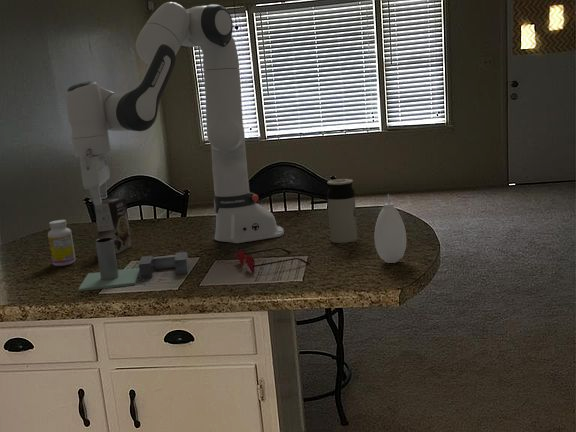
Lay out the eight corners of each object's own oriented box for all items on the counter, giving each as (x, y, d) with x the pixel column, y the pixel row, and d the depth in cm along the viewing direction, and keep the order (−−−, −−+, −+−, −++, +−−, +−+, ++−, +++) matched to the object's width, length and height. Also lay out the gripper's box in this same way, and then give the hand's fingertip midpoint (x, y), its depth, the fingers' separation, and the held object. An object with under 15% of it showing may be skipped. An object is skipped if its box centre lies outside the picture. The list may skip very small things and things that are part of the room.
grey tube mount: (188, 263, 171) (186, 249, 170) (187, 273, 162) (186, 259, 161) (144, 268, 170) (142, 254, 169) (140, 279, 160) (138, 264, 159)
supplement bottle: (56, 261, 186) (49, 220, 183) (78, 259, 186) (72, 218, 184) (49, 267, 179) (42, 224, 177) (72, 265, 180) (66, 222, 177)
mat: (140, 269, 169) (140, 267, 169) (135, 284, 156) (135, 282, 156) (88, 275, 168) (88, 273, 167) (78, 291, 154) (78, 289, 154)
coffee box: (119, 253, 189) (112, 202, 186) (100, 254, 191) (93, 203, 187) (132, 246, 198) (126, 196, 195) (114, 246, 199) (107, 197, 196)
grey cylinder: (122, 275, 163) (116, 237, 161) (111, 280, 159) (106, 242, 157) (107, 274, 165) (102, 237, 162) (97, 280, 160) (91, 241, 158)
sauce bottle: (388, 269, 151) (384, 197, 148) (370, 262, 158) (366, 193, 155) (413, 263, 155) (410, 192, 151) (394, 256, 162) (391, 189, 158)
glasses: (235, 264, 169) (233, 246, 168) (291, 254, 174) (289, 237, 173) (251, 277, 156) (249, 258, 155) (310, 265, 162) (309, 247, 161)
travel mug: (326, 243, 181) (322, 183, 177) (335, 237, 188) (331, 179, 185) (352, 244, 178) (349, 182, 174) (360, 237, 185) (357, 178, 182)
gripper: (98, 149, 145) (107, 207, 148) (110, 143, 165) (118, 194, 168) (70, 152, 144) (80, 210, 147) (86, 146, 164) (94, 197, 167)
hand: (100, 201), depth 157 cm, fingers open, 8 cm apart
